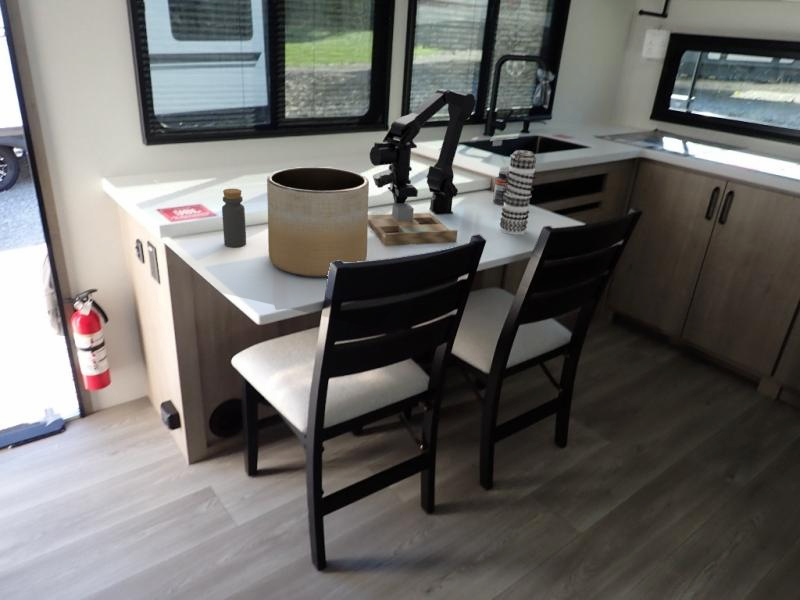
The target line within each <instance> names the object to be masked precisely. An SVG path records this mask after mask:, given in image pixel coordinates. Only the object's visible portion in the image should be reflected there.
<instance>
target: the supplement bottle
mask: <svg viewBox="0 0 800 600" xmlns="http://www.w3.org/2000/svg"><path fill="white" fill-rule="evenodd" d="M508 172H509V171H505V170H504V171H503V170H502V171H499V173H498V177H495V183H494V189H493V190H494V191H493V198H492V201H493V203H494V204H496V203H498V204H497V205H501V204H504V202H505V197H506V195H505V192H504V190H505V185H506V184H507V183H506V181H505V179H506V174H507V173H508Z"/></svg>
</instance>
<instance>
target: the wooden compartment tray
mask: <svg viewBox="0 0 800 600" xmlns="http://www.w3.org/2000/svg"><path fill="white" fill-rule="evenodd" d="M369 226H370V227H369ZM368 227H369V228H370V229H371V230H372V232H373V231H374V232H375V233H374V232H373V233H374V234H375V236H376V237H378V239H379V240H380V241H381V242H382V244H383V245H384V246H385V247H394V246H411V245H410V244H416V245H433V244H447V243H457V240H458V230H457V229H449V228H448V227H447V226H446V225H445V224H444V223H443V222H441V221H440V220H439V219H438V218H437V217H435V216H434V215H433V214H432V213H430V212H420V213H419V212H417V213H415V212H413V221H397V220H396V219H395V218H394V217H393V216H392V213H391V214H390V213H389V214H368Z"/></svg>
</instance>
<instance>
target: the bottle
mask: <svg viewBox="0 0 800 600" xmlns="http://www.w3.org/2000/svg"><path fill="white" fill-rule="evenodd" d="M222 192H223V195H224V196H222V202H223V203H224V204H223V206H222V207H221V213H222V227H223V241H224V245H225V247H228V248H242V247H244V246H246V245H247V230H246V227H247V226H246V210H245V206H244V205H243V204H242V202H243V201H244V200H243V196H242V190H241V189H240V188H239V189H238V188H227V189H224V190H223V191H222Z"/></svg>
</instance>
